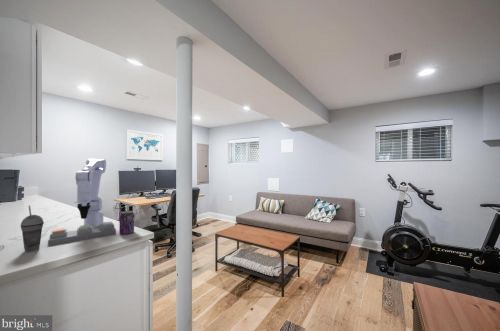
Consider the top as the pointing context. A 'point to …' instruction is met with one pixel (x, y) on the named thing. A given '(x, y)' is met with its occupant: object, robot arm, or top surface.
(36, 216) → the beverage cup
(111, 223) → the slate button
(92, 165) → the robot arm
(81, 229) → the sage button
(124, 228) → the beverage can
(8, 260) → the top surface
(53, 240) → the button panel
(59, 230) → the terracotta button
